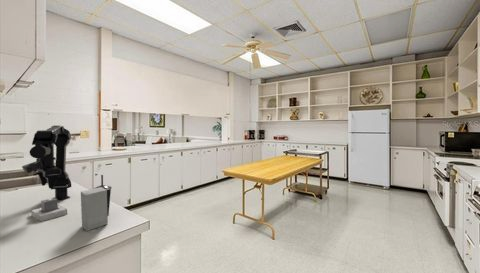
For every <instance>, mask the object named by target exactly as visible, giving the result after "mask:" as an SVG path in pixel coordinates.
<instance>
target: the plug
mask: <svg viewBox="0 0 480 273" xmlns="http://www.w3.org/2000/svg"><path fill="white" fill-rule="evenodd" d="M58 201H59V200H58V199H56V198H54V197H52V198H47V199H43V200H40V204H41V206H40V208H41V212H42V213H45V212H49V211H53V210H57V209H58V205H59V204H58V203H59V202H58Z"/></svg>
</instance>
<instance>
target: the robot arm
mask: <svg viewBox="0 0 480 273" xmlns="http://www.w3.org/2000/svg"><path fill="white" fill-rule="evenodd" d="M71 139H72V134H71V132H70V130H68V129H66V128H65V126H64V125H51V127H49V128H47V129H45V130H37V131H36V132H35V133H34V134H33V139H32V142H31V145H32V146H33V147H30V150H29V155H30V156H31V158H34V159H35V161H33V162H30V163H28V164H24V165H22V166H21V168H22V169H23V171H24V173H25V174H30V173H32V172H33V174H36V175H37V176H38V178H39V181H40V183H41V186H42V187H43V186H46V184H47V186H48V188H49V189H50V191H51V190H54V196H55V197H53V198H56V199H58V201H60V200H64V199H70V198H71V196H69V195H68V189H69V188H72V181H71V179H70V176H69V173H67V171H66V163H67V159H66V157H67V147H68V145H69V144H70V143H71V142H70V141H71ZM54 145H55V146H54ZM54 150H56V151H55V152H54Z"/></svg>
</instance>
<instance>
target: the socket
mask: <svg viewBox="0 0 480 273" xmlns="http://www.w3.org/2000/svg"><path fill="white" fill-rule="evenodd" d="M30 212H31V216H32V217H33V218H34V219H36V220H37V221H39V222H44V221H47V220H51V219H54V218H58V217H62V216H66V215H68V208H66V207H64V206H62V205H59V204H58V209H57V210H53V211H49V212H45V213H42V212H41V207H40V208H36V209H31V211H30Z"/></svg>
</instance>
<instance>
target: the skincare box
mask: <svg viewBox="0 0 480 273" xmlns="http://www.w3.org/2000/svg"><path fill="white" fill-rule="evenodd" d="M94 188H95V189H93V188H90V189H86V190H80V206H81V209H80V210H81V211H80V212H81V227H82V228H83V229H84V230H85V231H86V232H87V231H91V230H94V229H97V228H101V227H103V226H106V225H108V224H109V223H108V222H109V221H108V220H109V219H108V217H109V215H108V214H107V190H105V189H104V188H102V187H100V188H96V187H94Z"/></svg>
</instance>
